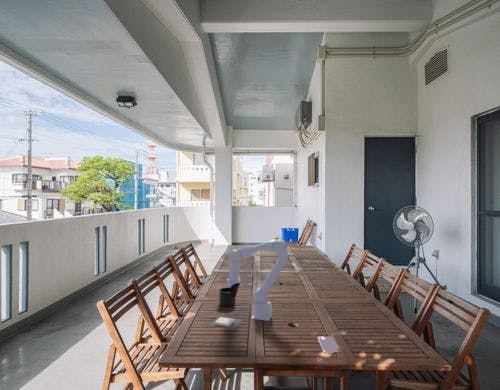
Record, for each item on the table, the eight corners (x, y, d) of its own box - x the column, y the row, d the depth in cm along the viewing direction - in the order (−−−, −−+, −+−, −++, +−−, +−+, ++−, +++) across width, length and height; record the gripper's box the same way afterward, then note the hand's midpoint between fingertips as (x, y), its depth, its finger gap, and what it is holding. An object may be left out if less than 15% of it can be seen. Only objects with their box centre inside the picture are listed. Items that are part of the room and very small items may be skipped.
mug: (217, 309, 191) (217, 293, 191) (220, 301, 203) (221, 287, 203) (233, 309, 190) (233, 294, 190) (236, 302, 202) (236, 287, 202)
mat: (242, 320, 175) (242, 319, 175) (233, 330, 163) (233, 329, 163) (218, 316, 179) (218, 315, 179) (207, 326, 167) (207, 325, 167)
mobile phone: (324, 351, 141) (316, 335, 156) (323, 353, 141) (316, 337, 156) (341, 351, 141) (332, 335, 156) (341, 354, 141) (332, 338, 156)
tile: (234, 319, 172) (229, 324, 165) (234, 321, 172) (229, 327, 165) (220, 317, 174) (214, 322, 168) (220, 319, 174) (214, 324, 168)
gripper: (232, 268, 188) (231, 292, 189) (222, 274, 175) (221, 300, 175) (244, 269, 186) (243, 293, 186) (234, 275, 172) (233, 301, 173)
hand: (233, 296), depth 181 cm, fingers closed
